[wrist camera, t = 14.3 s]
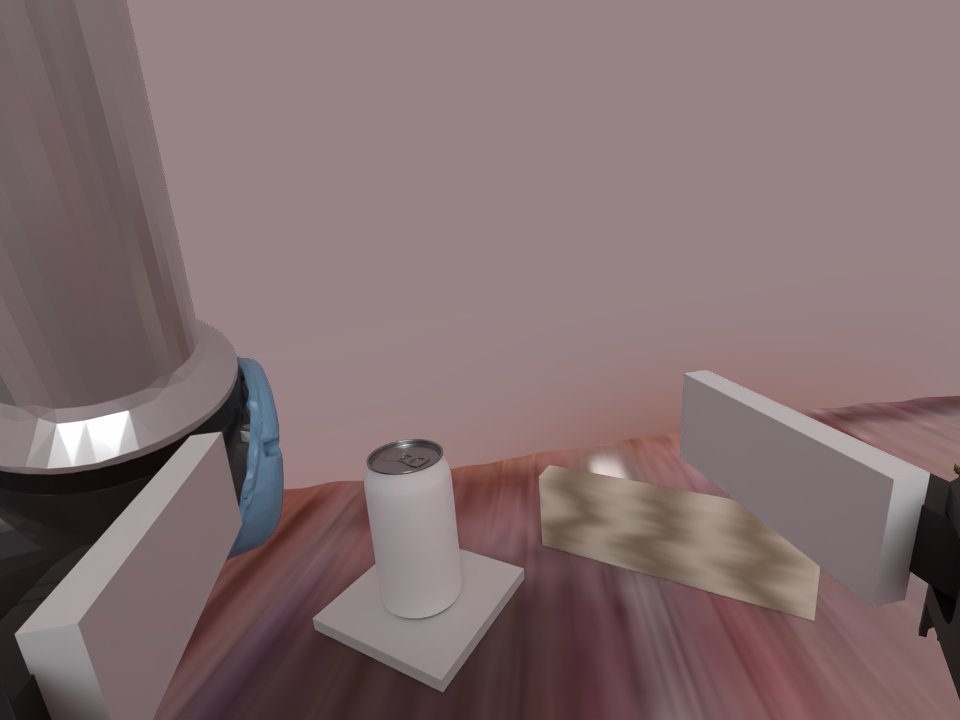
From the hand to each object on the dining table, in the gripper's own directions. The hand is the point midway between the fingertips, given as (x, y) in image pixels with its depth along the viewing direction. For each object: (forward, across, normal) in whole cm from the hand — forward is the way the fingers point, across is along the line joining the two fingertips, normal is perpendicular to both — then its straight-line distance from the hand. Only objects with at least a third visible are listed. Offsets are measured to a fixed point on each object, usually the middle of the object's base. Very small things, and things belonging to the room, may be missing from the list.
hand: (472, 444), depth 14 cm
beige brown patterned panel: (+20, +18, -23) cm, 35 cm away
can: (+21, -2, -23) cm, 31 cm away
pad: (+21, -2, -23) cm, 32 cm away
